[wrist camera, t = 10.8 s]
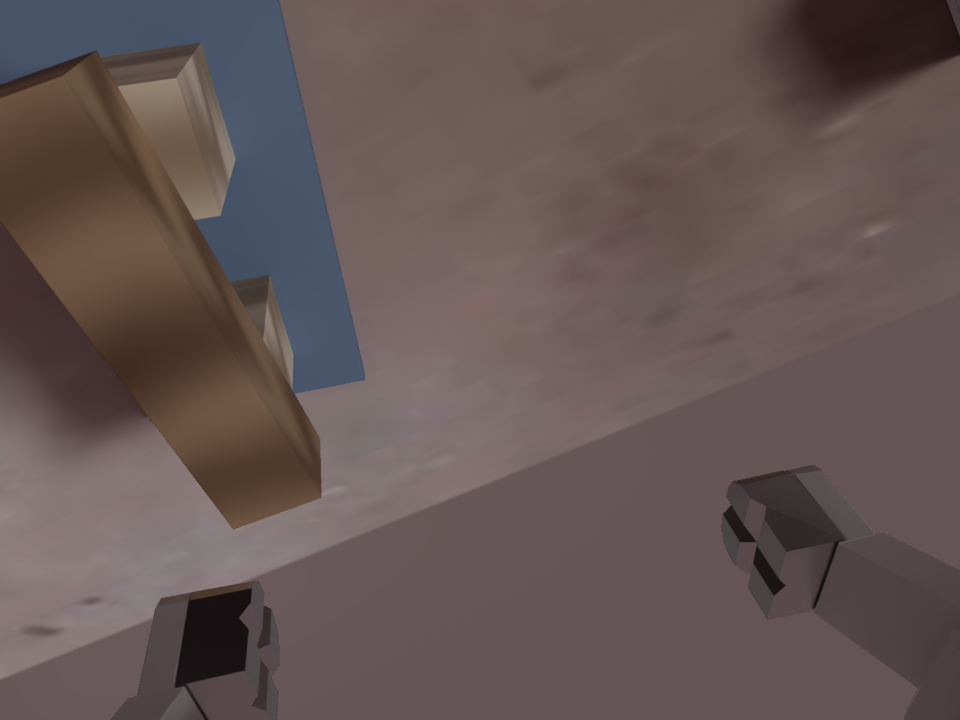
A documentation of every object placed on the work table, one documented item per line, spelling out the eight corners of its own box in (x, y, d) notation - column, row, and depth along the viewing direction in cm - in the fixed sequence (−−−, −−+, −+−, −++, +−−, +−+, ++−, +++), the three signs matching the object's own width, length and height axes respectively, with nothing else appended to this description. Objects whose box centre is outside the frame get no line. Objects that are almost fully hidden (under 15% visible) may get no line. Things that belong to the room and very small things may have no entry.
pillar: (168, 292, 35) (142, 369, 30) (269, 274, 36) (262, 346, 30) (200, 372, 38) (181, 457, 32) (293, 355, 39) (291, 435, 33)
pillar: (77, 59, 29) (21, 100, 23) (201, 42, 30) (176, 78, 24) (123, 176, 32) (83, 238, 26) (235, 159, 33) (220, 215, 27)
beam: (-19, 91, 23) (-73, 124, 20) (96, 50, 23) (62, 76, 20) (240, 467, 33) (233, 529, 30) (320, 438, 33) (321, 497, 30)
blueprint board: (-38, 1, 28) (-44, 3, 27) (270, -37, 29) (269, -36, 29) (152, 414, 40) (150, 421, 39) (364, 373, 41) (365, 379, 41)
